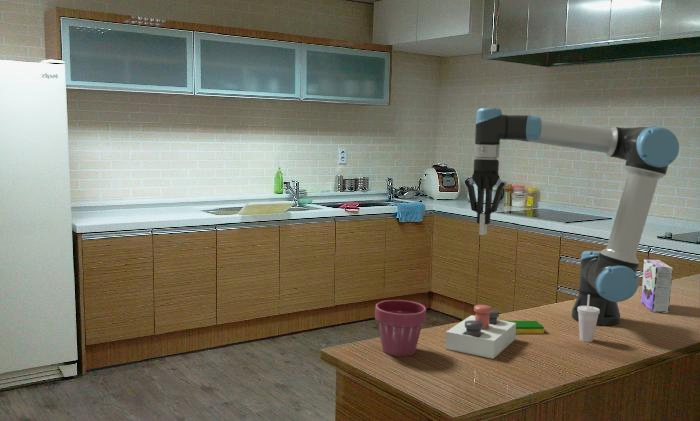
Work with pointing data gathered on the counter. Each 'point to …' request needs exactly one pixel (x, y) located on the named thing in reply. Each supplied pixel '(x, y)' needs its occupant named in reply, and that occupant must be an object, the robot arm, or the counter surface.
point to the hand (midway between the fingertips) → (482, 234)
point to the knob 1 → (473, 328)
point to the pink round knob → (483, 314)
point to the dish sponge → (528, 327)
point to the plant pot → (399, 325)
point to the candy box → (656, 285)
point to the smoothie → (587, 321)
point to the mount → (481, 338)
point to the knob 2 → (493, 317)
